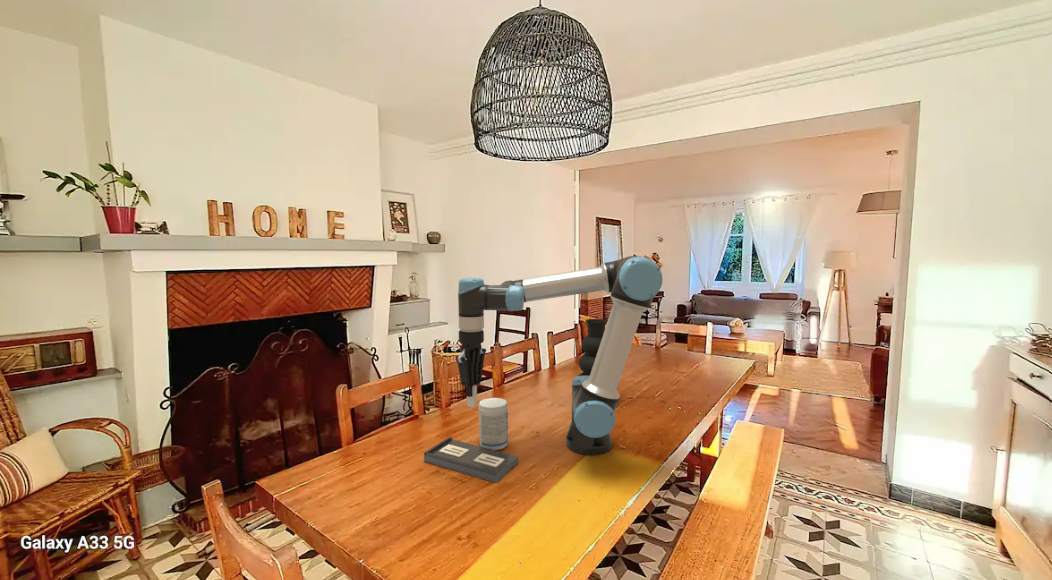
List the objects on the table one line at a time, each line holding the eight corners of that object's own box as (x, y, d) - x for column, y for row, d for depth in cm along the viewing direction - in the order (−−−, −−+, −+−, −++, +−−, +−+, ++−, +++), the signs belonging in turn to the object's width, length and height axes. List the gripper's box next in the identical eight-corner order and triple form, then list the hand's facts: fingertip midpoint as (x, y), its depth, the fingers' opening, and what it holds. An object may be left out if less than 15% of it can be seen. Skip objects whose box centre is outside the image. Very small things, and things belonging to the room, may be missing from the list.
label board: (518, 462, 133) (518, 453, 133) (496, 482, 122) (496, 473, 122) (450, 444, 145) (450, 436, 145) (424, 461, 134) (423, 452, 134)
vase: (623, 399, 188) (625, 319, 184) (607, 413, 172) (609, 326, 169) (584, 391, 198) (585, 315, 194) (565, 404, 182) (566, 321, 178)
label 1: (469, 450, 137) (469, 449, 137) (459, 457, 132) (459, 456, 132) (448, 445, 141) (448, 444, 141) (438, 451, 136) (438, 450, 136)
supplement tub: (513, 446, 144) (513, 403, 142) (488, 454, 139) (487, 409, 137) (498, 436, 152) (498, 395, 150) (474, 443, 147) (473, 400, 145)
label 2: (504, 460, 131) (504, 458, 131) (496, 467, 126) (496, 466, 126) (482, 454, 135) (482, 452, 135) (473, 461, 130) (473, 459, 130)
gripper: (473, 324, 138) (473, 397, 140) (447, 332, 126) (448, 410, 129) (493, 327, 134) (493, 401, 137) (469, 334, 123) (469, 415, 125)
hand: (471, 405), depth 133 cm, fingers closed
